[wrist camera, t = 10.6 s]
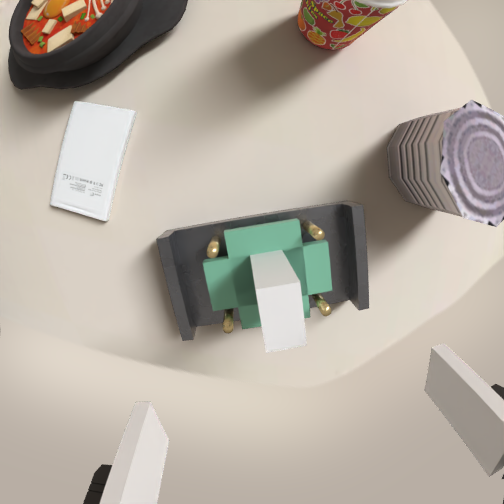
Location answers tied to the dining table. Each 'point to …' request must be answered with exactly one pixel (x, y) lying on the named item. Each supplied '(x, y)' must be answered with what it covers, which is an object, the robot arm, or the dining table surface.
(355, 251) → the chassis
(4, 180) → the dining table surface
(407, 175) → the can
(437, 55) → the dining table surface
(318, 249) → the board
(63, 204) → the external hard drive
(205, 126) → the dining table surface
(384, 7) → the smoothie
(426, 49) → the dining table surface
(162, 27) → the casserole
